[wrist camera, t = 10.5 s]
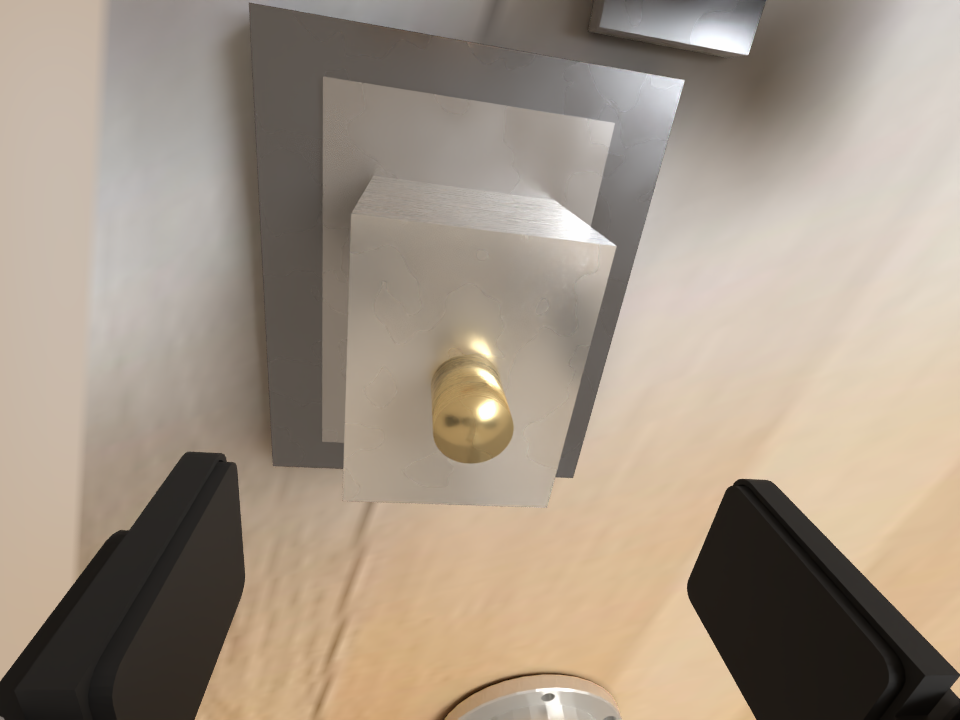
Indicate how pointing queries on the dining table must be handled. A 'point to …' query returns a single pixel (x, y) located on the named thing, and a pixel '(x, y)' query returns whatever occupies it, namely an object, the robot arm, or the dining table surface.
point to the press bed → (445, 167)
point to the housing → (464, 342)
